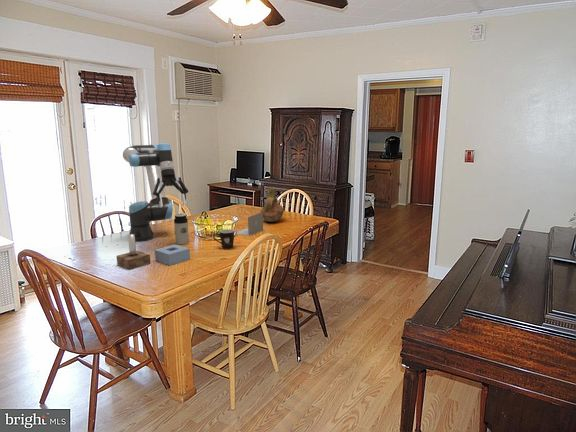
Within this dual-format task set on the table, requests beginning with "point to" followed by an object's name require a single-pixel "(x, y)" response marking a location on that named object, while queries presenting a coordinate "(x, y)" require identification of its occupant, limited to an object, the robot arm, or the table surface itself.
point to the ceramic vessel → (272, 207)
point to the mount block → (133, 260)
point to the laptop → (253, 225)
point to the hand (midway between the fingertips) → (173, 206)
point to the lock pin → (132, 245)
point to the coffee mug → (226, 238)
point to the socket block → (172, 254)
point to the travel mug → (181, 229)
